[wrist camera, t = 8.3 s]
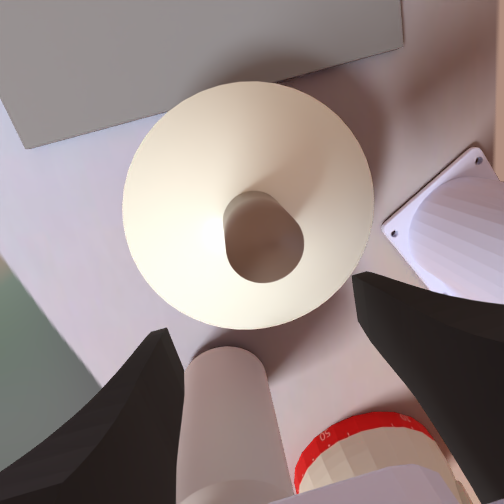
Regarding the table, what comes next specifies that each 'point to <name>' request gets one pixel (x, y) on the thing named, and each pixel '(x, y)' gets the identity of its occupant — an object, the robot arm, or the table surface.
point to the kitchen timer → (371, 451)
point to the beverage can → (229, 433)
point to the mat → (167, 53)
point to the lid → (248, 205)
